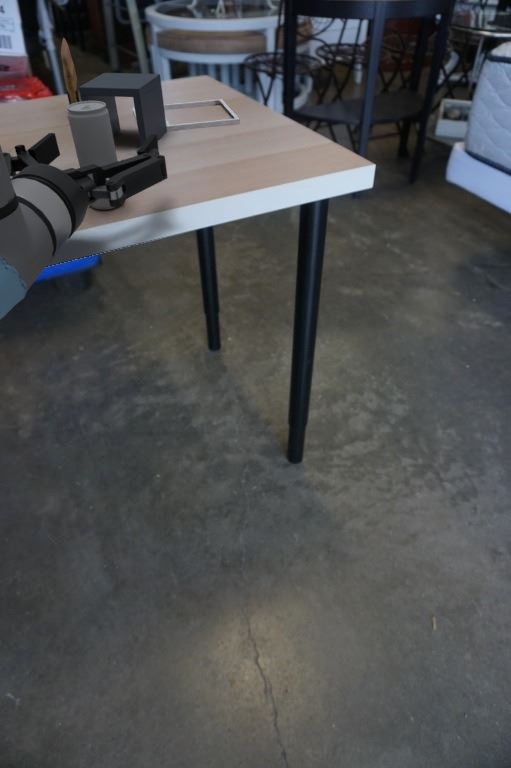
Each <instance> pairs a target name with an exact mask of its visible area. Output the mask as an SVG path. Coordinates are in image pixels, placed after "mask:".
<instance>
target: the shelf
mask: <svg viewBox="0 0 511 768" xmlns="http://www.w3.org/2000/svg"><path fill="white" fill-rule="evenodd" d="M79 92H80V95H81V101H101V102H104V103H105V104H106V107H105V108H107V110H108V113H109V118H110V123H111V129H112V134H113V136H115V134H117V133H118V132H120V130H121V123H120V118H119V112H118V108H117V102H116V97H119V98H132V99H133V105H134V107H135V113H136V119H137V122H136V125H137V131H138V137H139V144H140V147H141V146H142V145H143V143H144V142H145V141H146V140H147V139H148V137H149V136H150V135H151V134H154V135H157V141H158V140H160V139H161V138H162V137H163V136H164V135H165V134H166V133H167V132H168V131H167V127H166V119H165V117H166V113H165V111H166V110H164V104H165V103H164V97H163V96H164V94H163V87H162V79H161V73H131V72H129V73H128V72H103V73H101V74H99V75H98V76H96V77H94V78H92V79H90V80H89V81H87V82H85V83H84V84H82V85H79ZM136 119H135V120H136Z"/></svg>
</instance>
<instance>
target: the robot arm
mask: <svg viewBox="0 0 511 768" xmlns="http://www.w3.org/2000/svg"><path fill="white" fill-rule="evenodd" d="M13 148H14V150H15V154H16V155H15V156H12V155H11V153H10V152H3V149H2V146H1V145H0V320H2V319H3V318H4V317H5V316H6V315H7V314H8V313H9V312H10V311H11V310H12V309H13V308H14V307H15V306H16V305H17V304H18V303H21V301H23V300H24V299H25V297H26V295H27V293H28V290H29V289H30V288H31V287H32V285H33V284H34V283H35V282H36V280H37V279H38V278H39V276H40V275H41V274H42V273H43V271H44V270H45V269H46V267H47V266H48V265H49V264H50V263H51V262H52V260H53V258H54V257H55V256H56V255H57V254H58V253H59V252H60V250H61V249H62V248H63V246H64V245H65V244H66V243H67V241H68V240H69V239H70V238H71V237H72V236H73V235H74V233H76V231H77V230H78V228H80V226H81V225H82V223H83V221H84V220H85V216H86V213H87V210H88V207H89V206H91V205H90V204H92V203H94V202H96V201H97V200H98V199H109V204H110V206H111V207H116V208H118V207H121V205H122V204H123V203H124V202H125V201H126V200H127V199H129V198H132V197H133V196H136V195H137V194H139V193H141V192H143V191H146V190H148V189H149V188H151V187H153V186H155V185H157V184H159V183H161V182H163V181H166V180H167V179H168V178H169V177H168V169H167V162H166V161H167V160H166V155H162V154H160V150H159V142H158V140H157V135H154V134H151V135H150V136H149V137H148V139H147V140H146V141H145V142H144V143H143V145H142V146H141V145H140V147H139V148H138V149H137V151H136V155H134V156H132V157H128V158H125V159H121V160H117V161H118V162H114V163H111V164H108V165H104V166H101V167H99V166H97V165H95V164H92V165H88V166H85V167H81V168H80V167H78V168H74V167H69V168H66V169H60V168H58V167H56V166H54V165H50V164H52V163H53V162H54V161H55V160H57V158H58V157H59V156H61V152H60V148H59V145H58V140H57V136H56V133H55V132H48V133H47V134H46V135H45V136H43V137H42V138H41V139H39V140H38V141H37V142H35V143H34V144H33V145H32V146H31V147H29V148H27V149H26V146H25V144H17V145H14V147H13ZM17 172H18V173H17ZM89 174H92V175H93V180H94V182H93V180H92V179H91V178H90V177H89V176H88V175H89Z"/></svg>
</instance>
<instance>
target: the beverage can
mask: <svg viewBox="0 0 511 768" xmlns="http://www.w3.org/2000/svg"><path fill="white" fill-rule="evenodd" d="M105 107H106V104H105V103H104V102H101V101H82V102H77V103H73V104H70V105H69V104H68V105H67V106H66V110H67V111H68V112H67V114H66V115H67V119H68V124H69V126H70V130H71V131H70V132H71V136H72V140H73V144H74V148H75V152H76V156H77V161H78V165H79V168H81V167H85V166H88V165H92V164H95V165H97V166H99V167H101V166H104V165H108V164H111V163H114V162H118V161H119V160H118V155H117V151H116V146H115V139H114V135H113V134H112V129H111V123H110V118H109V113H108V110H107V108H105ZM88 176H89V177H90V178H91V179H92V180H93V175H92V174H89V175H88ZM93 182H94V180H93ZM89 206H91V207H92V208H93V209H95V210H101V211H106V210H113V209H115V208H117V207H111V206H110V204H109V199H98V200H97V201H96V202H94V203H92V204H90V205H89Z"/></svg>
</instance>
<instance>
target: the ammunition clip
mask: <svg viewBox="0 0 511 768" xmlns="http://www.w3.org/2000/svg"><path fill="white" fill-rule="evenodd" d="M60 58H61V63H62V69H63V78H64V82H65V87H66V95H67V100H68V106H69V105H70V104H73V103H77V102H82V101H81V95H80V92H79V87H80V83H79V82H80V81H79V78H78V77H77V73H76V67H75V63H74V61H73V58H72V55H71V51H70V47H69V44H68V41H67V40H66V38H65V37H62V42H61V47H60Z"/></svg>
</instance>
